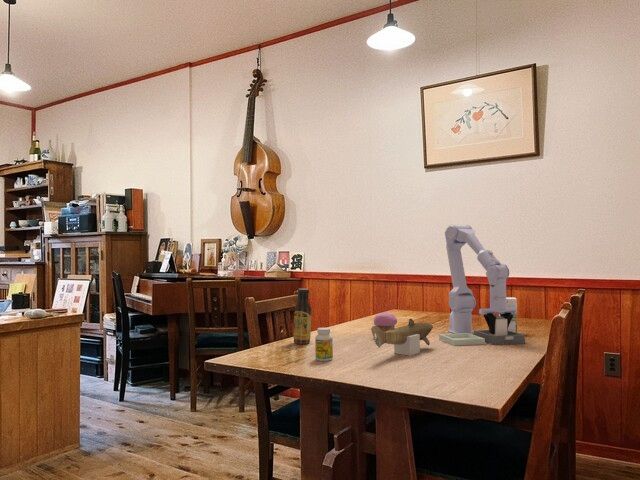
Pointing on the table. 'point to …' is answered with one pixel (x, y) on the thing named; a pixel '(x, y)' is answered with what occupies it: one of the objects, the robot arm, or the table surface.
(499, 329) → the module block
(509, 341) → the gray rectangular frame
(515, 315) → the syrup box
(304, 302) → the sauce bottle
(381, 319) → the cupcake
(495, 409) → the table surface
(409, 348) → the wood carving
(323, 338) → the supplement bottle
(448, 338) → the tray
